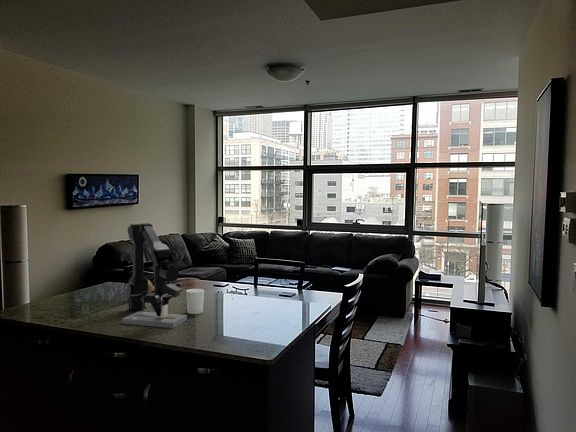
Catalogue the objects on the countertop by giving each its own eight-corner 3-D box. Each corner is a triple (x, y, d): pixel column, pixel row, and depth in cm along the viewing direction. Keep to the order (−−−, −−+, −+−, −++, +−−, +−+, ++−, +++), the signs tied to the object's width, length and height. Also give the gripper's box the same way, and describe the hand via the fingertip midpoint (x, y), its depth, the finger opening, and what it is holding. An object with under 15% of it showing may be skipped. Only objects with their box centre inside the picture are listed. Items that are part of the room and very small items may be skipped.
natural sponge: (157, 297, 225) (157, 278, 224) (146, 301, 216) (146, 281, 216) (143, 295, 228) (143, 277, 227) (131, 299, 219) (131, 280, 219)
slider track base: (122, 323, 179) (122, 318, 179) (138, 315, 190) (138, 310, 190) (173, 328, 173) (173, 322, 173) (187, 319, 185) (187, 314, 185)
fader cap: (154, 317, 180) (154, 304, 180) (159, 315, 183) (159, 302, 183) (163, 318, 179) (163, 305, 179) (167, 315, 182) (167, 303, 182)
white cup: (199, 315, 192) (199, 292, 192) (183, 314, 194) (183, 291, 194) (206, 310, 200) (206, 289, 200) (190, 309, 202) (190, 288, 201)
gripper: (167, 283, 169) (167, 322, 170) (189, 275, 187) (189, 310, 188) (142, 281, 172) (142, 320, 173) (166, 273, 190) (166, 308, 191)
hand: (161, 315), depth 181 cm, fingers closed on fader cap, 3 cm apart
